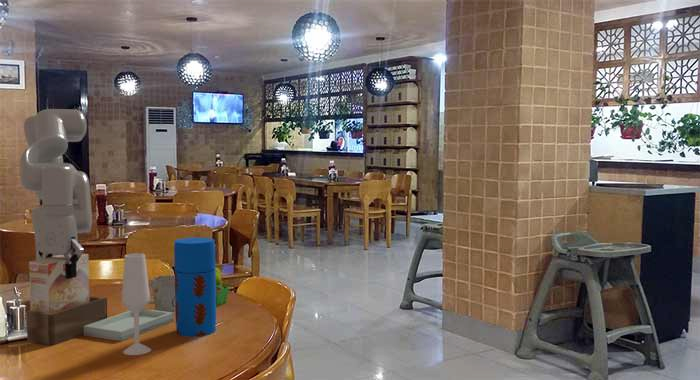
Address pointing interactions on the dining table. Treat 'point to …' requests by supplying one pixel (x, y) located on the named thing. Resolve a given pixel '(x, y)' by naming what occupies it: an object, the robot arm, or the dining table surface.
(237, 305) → the dining table surface
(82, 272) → the coffeecake box
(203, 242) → the thermos
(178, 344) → the dining table surface
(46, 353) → the dining table surface
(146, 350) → the champagne flute
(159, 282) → the mug
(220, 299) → the fruit basket
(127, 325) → the tray
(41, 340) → the holder
